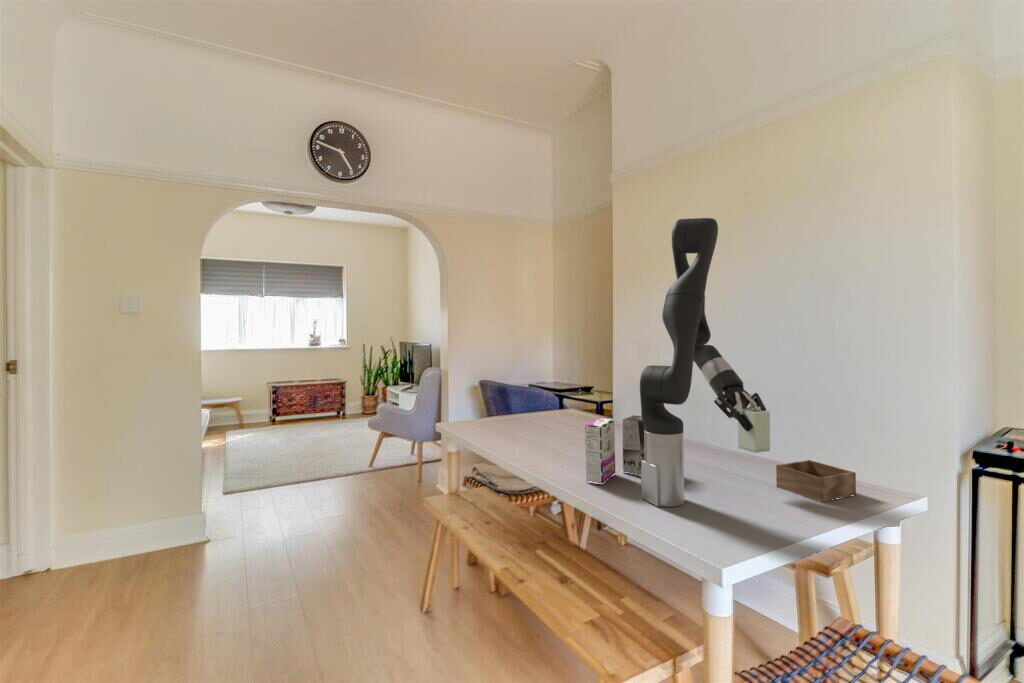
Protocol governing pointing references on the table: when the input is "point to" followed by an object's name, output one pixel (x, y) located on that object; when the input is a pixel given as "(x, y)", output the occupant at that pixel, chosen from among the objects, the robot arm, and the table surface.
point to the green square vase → (755, 431)
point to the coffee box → (633, 444)
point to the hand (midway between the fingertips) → (758, 428)
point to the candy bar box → (600, 450)
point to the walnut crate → (816, 480)
